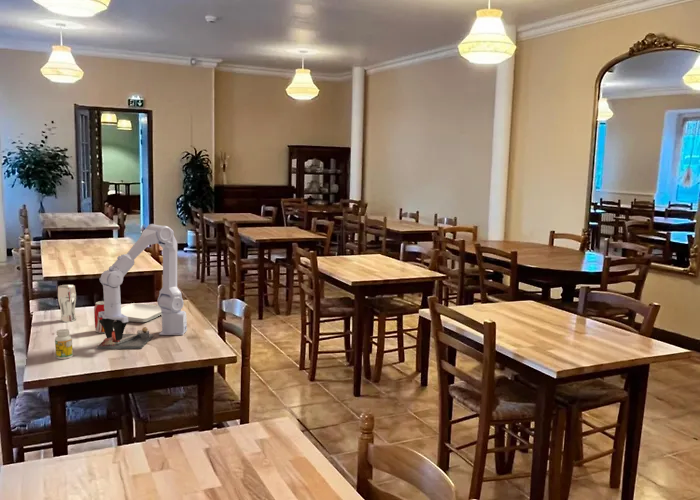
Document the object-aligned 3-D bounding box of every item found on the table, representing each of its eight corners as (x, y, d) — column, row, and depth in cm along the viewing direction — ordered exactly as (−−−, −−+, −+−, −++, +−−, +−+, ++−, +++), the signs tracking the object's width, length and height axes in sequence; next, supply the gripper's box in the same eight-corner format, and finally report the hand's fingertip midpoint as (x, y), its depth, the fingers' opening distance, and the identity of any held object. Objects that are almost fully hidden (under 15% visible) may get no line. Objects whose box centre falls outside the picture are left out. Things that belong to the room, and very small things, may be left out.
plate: (153, 336, 240) (152, 323, 240) (141, 348, 225) (140, 335, 224) (111, 336, 240) (110, 323, 239) (96, 349, 224) (95, 335, 223)
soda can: (101, 335, 241) (99, 305, 240) (91, 331, 246) (90, 302, 244) (117, 331, 247) (116, 302, 245) (107, 328, 251) (106, 299, 249)
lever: (145, 332, 241) (144, 320, 241) (150, 333, 240) (150, 321, 239) (110, 344, 226) (109, 331, 225) (116, 345, 225) (115, 332, 224)
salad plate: (145, 325, 256) (145, 317, 256) (102, 321, 262) (102, 313, 262) (173, 313, 277) (173, 306, 276) (132, 310, 282) (132, 302, 282)
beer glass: (80, 319, 263) (78, 285, 261) (65, 323, 257) (63, 288, 255) (70, 317, 267) (69, 283, 264) (56, 320, 261) (53, 286, 259)
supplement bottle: (76, 355, 216) (74, 329, 215) (64, 360, 211) (62, 333, 210) (64, 353, 218) (63, 327, 217) (52, 358, 213) (50, 331, 212)
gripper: (90, 302, 225) (92, 337, 227) (115, 307, 218) (117, 344, 220) (107, 298, 231) (108, 333, 233) (132, 303, 224) (134, 339, 226)
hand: (114, 338), depth 227 cm, fingers open, 5 cm apart
